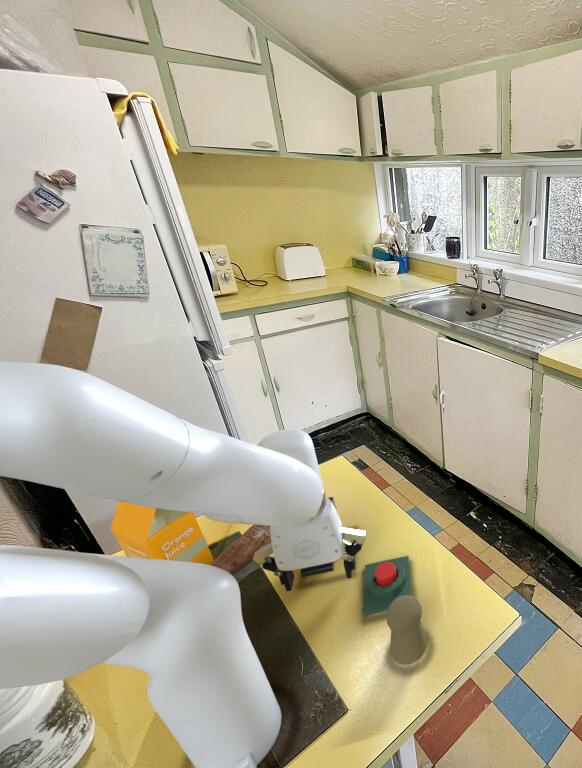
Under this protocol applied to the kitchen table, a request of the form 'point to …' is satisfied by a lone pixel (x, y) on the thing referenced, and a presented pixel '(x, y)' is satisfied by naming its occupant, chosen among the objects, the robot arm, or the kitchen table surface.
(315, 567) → the lever
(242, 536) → the salami
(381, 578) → the button
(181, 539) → the orange juice
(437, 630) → the kitchen table surface
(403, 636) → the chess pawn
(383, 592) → the button box
